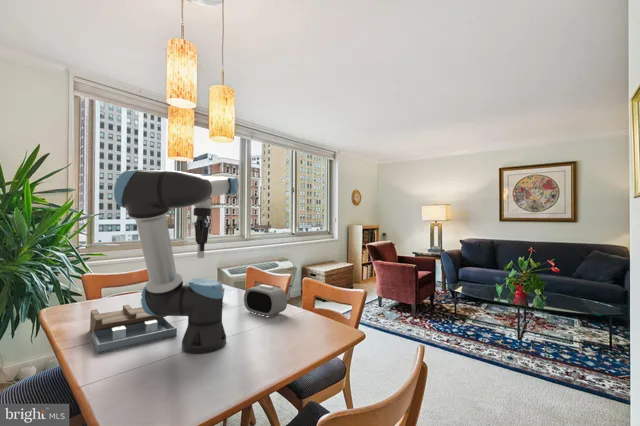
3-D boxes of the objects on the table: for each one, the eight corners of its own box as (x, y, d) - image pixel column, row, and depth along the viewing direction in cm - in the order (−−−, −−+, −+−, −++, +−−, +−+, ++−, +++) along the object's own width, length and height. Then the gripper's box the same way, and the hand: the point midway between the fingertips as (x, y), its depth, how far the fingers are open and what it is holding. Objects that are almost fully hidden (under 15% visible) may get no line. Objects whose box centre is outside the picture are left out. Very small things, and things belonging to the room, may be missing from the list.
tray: (176, 335, 118) (176, 328, 118) (97, 353, 101) (97, 344, 101) (164, 324, 129) (164, 317, 129) (91, 339, 112) (92, 331, 112)
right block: (154, 329, 122) (157, 332, 119) (143, 331, 120) (145, 334, 117) (154, 319, 122) (157, 321, 119) (143, 321, 120) (146, 324, 117)
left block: (123, 336, 115) (125, 339, 112) (110, 338, 112) (112, 342, 109) (124, 325, 115) (126, 328, 112) (111, 327, 112) (113, 331, 109)
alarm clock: (242, 311, 150) (243, 284, 150) (256, 307, 158) (257, 281, 158) (273, 320, 139) (274, 291, 139) (287, 315, 147) (287, 287, 147)
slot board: (165, 327, 126) (166, 308, 126) (94, 342, 110) (95, 320, 110) (155, 318, 137) (156, 300, 137) (89, 330, 121) (90, 310, 121)
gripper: (189, 207, 144) (187, 257, 143) (199, 207, 134) (197, 260, 134) (204, 208, 149) (203, 256, 148) (216, 207, 139) (214, 259, 139)
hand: (200, 257), depth 141 cm, fingers closed
